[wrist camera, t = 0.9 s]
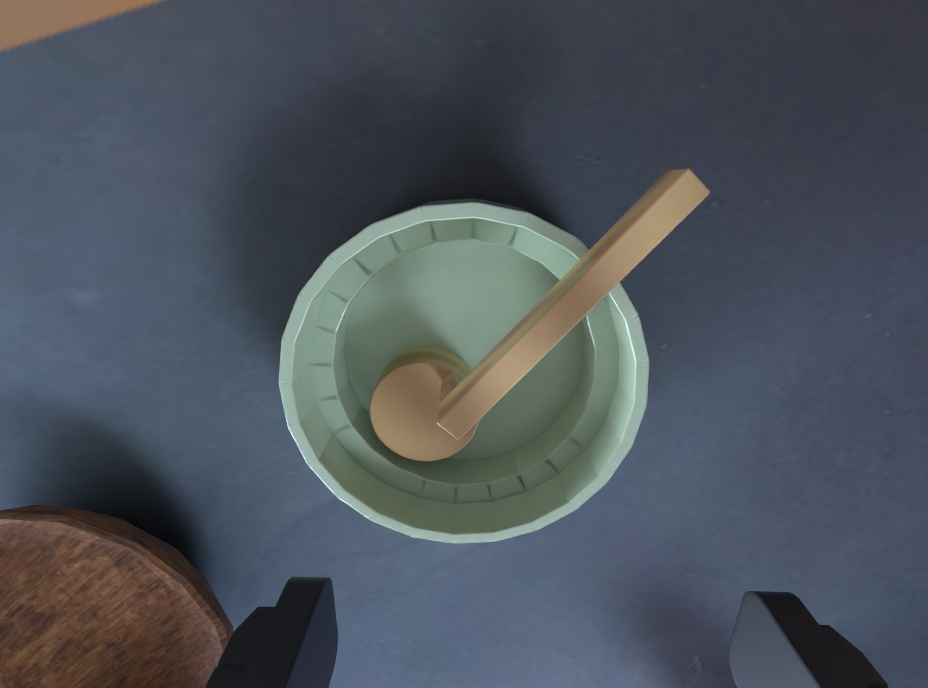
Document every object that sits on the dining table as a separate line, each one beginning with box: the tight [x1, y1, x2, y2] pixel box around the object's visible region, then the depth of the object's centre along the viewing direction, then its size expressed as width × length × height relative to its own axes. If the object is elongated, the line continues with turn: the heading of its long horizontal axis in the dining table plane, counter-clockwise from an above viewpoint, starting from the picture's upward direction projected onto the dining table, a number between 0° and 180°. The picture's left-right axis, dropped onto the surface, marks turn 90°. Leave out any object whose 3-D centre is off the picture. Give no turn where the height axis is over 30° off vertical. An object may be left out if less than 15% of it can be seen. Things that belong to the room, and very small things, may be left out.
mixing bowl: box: [279, 198, 649, 543], centre depth 24 cm, size 16×16×6 cm
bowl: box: [0, 505, 233, 688], centre depth 30 cm, size 20×22×5 cm
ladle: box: [370, 168, 710, 461], centre depth 22 cm, size 18×6×7 cm, turn 138°
